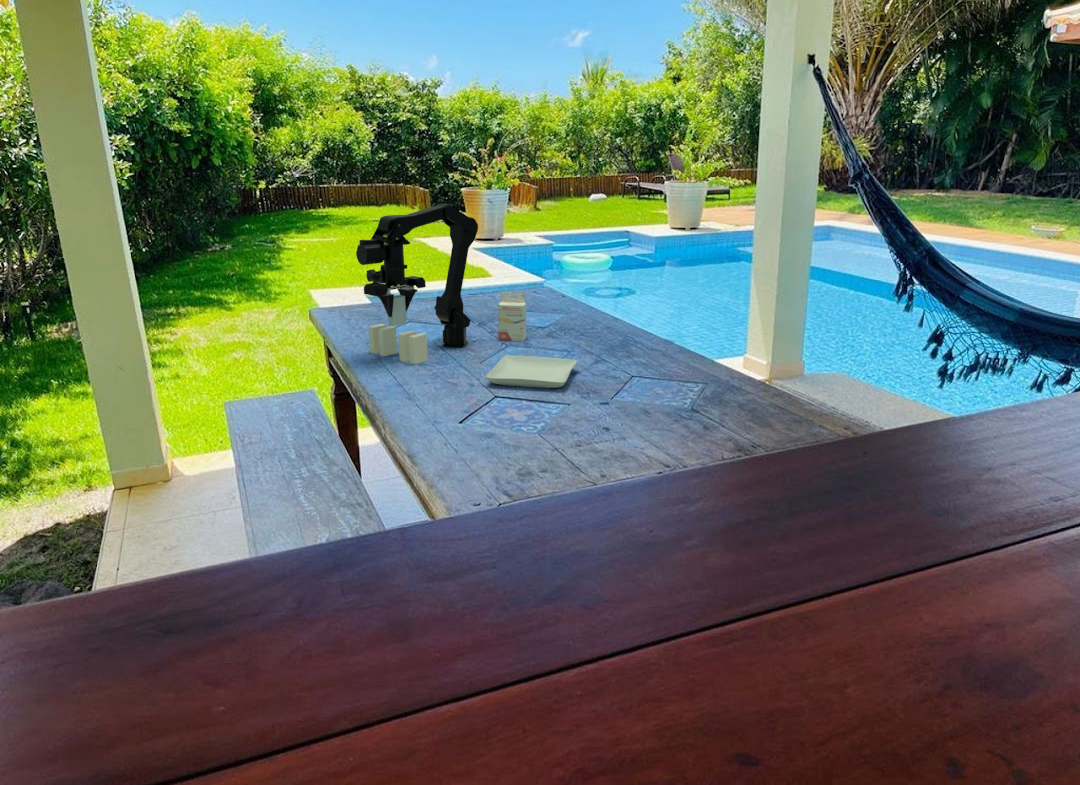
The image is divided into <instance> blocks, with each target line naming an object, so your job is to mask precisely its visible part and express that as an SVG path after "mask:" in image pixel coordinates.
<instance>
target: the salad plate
mask: <svg viewBox="0 0 1080 785" xmlns="http://www.w3.org/2000/svg"><path fill="white" fill-rule="evenodd" d="M577 364H578V360H577V359H572V358H557V357H546V356H532V355H531V356H530V355H514V354H513V355H512V354H505V355H504V356H502V357H501V359H500V360H499V361H498V363H497V364H496V365H495V366H494V367H493V368H492V369H491V370H490V371H489V372H488V373H487V374H486V376H485V379H486V380H487V381H488V382H489V383H493V384H495V385H501V386H511V387H523V388H524V387H526V388H541V389H555V388H560V387H562V386H564V385H565V384H566V382H567V380H569V376H570V374H571V372H572V371H573V368H574V367H575V366H576V365H577Z"/></svg>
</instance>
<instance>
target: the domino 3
mask: <svg viewBox="0 0 1080 785" xmlns="http://www.w3.org/2000/svg"><path fill="white" fill-rule="evenodd" d="M387 319H388V325H389V326H393V327H396V326H398V325H403V324H407V312H406V305H405V296H403V295H400V294H398V295H394V301H393V312H392V317H388V316H387Z"/></svg>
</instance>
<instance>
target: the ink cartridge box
mask: <svg viewBox="0 0 1080 785" xmlns="http://www.w3.org/2000/svg"><path fill="white" fill-rule="evenodd" d="M512 297H515V298H512ZM497 307H498V308H497V310H498V311H497V313H498V314H497V315H498V317H497V322H498V324H497V326H498V327H497V328H498V331H497V332H498V333H497V334H498V336H497V337H498V341H508V342H513V341H514V342H525V341H526V337H527V303H526V293H525V292H503V291H502V292H501V293H500V301H499V303H498V306H497Z"/></svg>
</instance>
